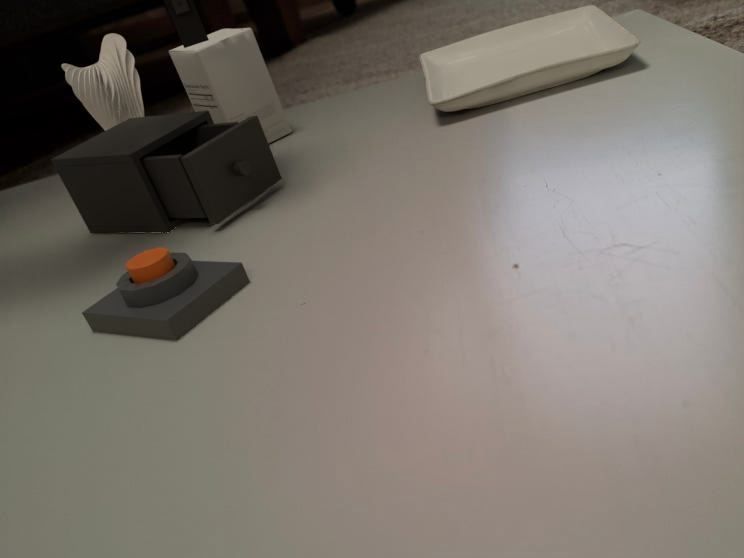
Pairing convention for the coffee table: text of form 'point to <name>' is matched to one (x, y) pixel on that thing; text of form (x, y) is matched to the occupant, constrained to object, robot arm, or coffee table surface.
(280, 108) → the rectangular carton
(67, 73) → the shell sculpture
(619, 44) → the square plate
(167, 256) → the button
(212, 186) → the pull-out drawer with knob
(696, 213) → the coffee table surface
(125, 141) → the grey drawer box
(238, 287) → the control block
